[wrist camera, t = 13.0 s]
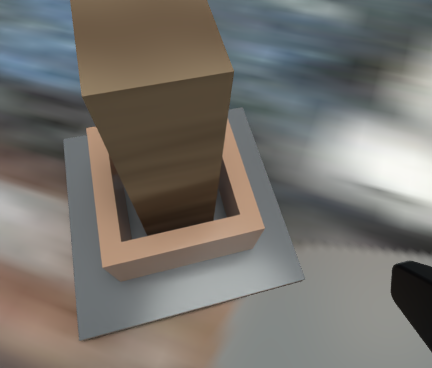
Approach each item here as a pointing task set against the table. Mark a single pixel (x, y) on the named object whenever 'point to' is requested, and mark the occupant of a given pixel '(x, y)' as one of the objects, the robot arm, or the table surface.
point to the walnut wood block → (157, 102)
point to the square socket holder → (172, 240)
